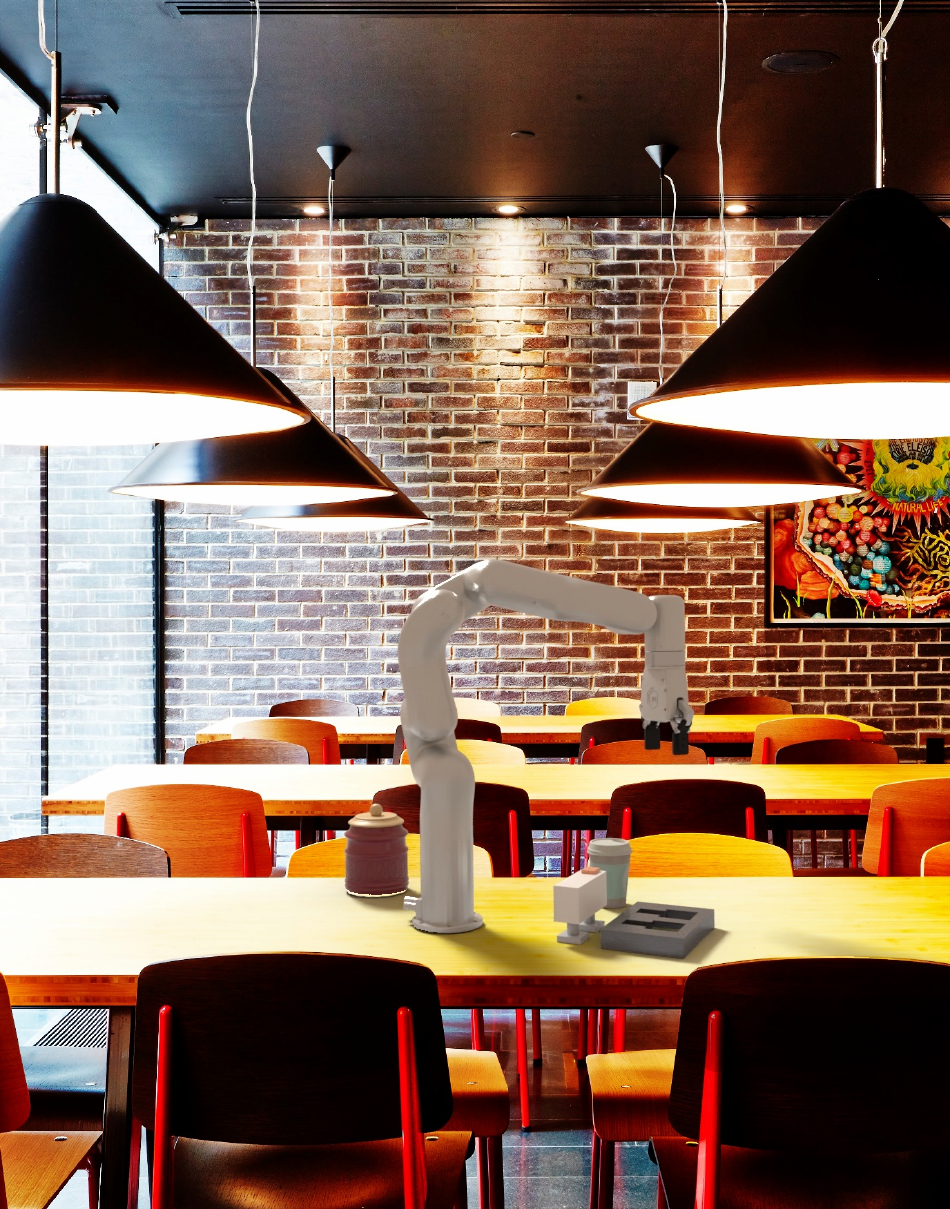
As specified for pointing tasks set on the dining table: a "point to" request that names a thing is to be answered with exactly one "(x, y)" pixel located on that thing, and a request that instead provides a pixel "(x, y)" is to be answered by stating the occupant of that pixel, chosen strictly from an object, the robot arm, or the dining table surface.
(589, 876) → the white block orange button
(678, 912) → the grey frame with openings
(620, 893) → the coffee cup
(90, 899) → the dining table surface
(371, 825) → the canister
